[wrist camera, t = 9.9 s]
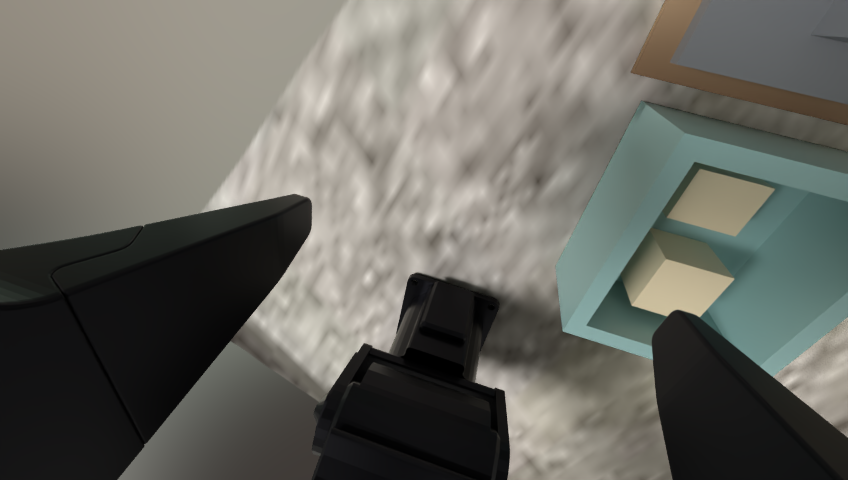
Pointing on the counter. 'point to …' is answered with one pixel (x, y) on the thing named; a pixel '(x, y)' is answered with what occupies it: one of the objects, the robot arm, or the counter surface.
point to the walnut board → (657, 65)
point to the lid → (772, 44)
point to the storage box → (711, 238)
